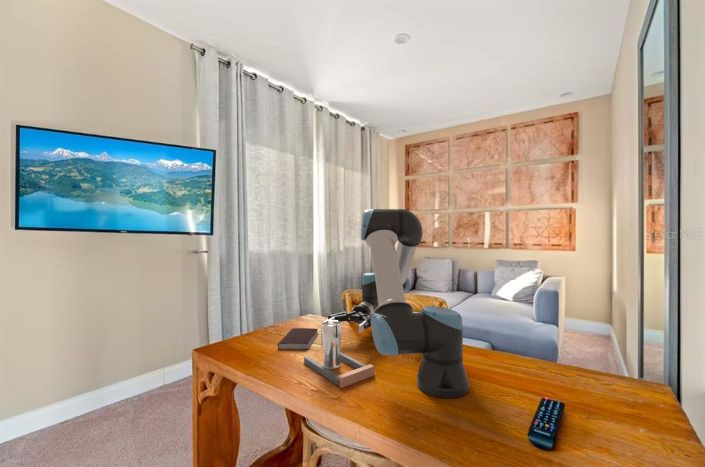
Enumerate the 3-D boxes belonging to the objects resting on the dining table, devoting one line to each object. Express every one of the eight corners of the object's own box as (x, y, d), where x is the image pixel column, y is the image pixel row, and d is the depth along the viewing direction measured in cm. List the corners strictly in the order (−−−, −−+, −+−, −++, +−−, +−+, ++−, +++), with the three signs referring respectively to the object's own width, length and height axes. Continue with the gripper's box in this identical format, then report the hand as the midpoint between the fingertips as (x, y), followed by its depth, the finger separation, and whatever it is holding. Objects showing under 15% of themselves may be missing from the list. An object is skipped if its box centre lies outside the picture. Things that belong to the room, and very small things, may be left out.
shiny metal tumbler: (342, 361, 116) (342, 320, 115) (340, 370, 109) (339, 326, 108) (323, 361, 116) (323, 319, 116) (319, 369, 109) (319, 325, 109)
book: (277, 350, 128) (277, 342, 128) (291, 334, 148) (291, 327, 148) (308, 351, 127) (308, 343, 127) (318, 334, 146) (318, 327, 146)
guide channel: (374, 375, 105) (374, 366, 105) (341, 387, 97) (341, 378, 97) (334, 353, 123) (334, 345, 123) (304, 362, 115) (303, 354, 115)
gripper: (390, 324, 137) (374, 341, 117) (336, 318, 146) (313, 333, 127) (390, 306, 136) (374, 320, 117) (336, 301, 146) (313, 314, 126)
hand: (342, 327), depth 122 cm, fingers open, 13 cm apart
